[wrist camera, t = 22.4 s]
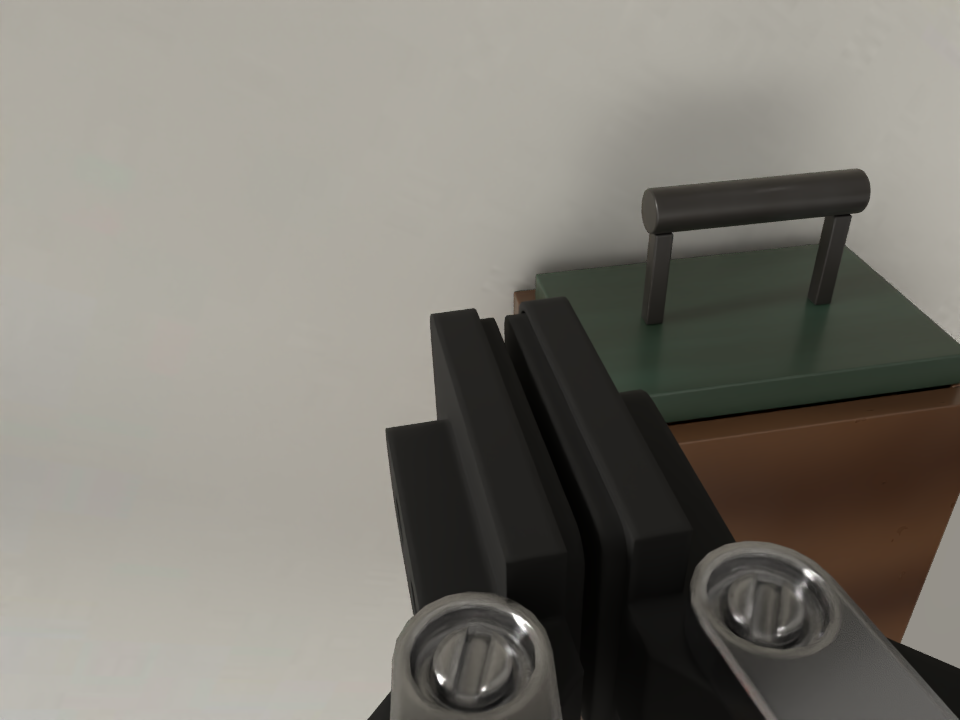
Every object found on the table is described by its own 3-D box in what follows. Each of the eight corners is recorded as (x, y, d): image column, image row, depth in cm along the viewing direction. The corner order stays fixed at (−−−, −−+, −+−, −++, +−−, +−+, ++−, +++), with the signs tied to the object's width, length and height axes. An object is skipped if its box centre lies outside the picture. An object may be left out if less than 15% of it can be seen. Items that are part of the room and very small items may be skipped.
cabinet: (513, 290, 34) (585, 456, 26) (836, 255, 35) (997, 399, 27) (512, 588, 43) (564, 777, 35) (766, 548, 45) (871, 718, 37)
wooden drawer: (537, 150, 30) (609, 259, 23) (869, 121, 31) (1022, 215, 25) (529, 567, 41) (575, 717, 35) (772, 529, 43) (859, 666, 36)
